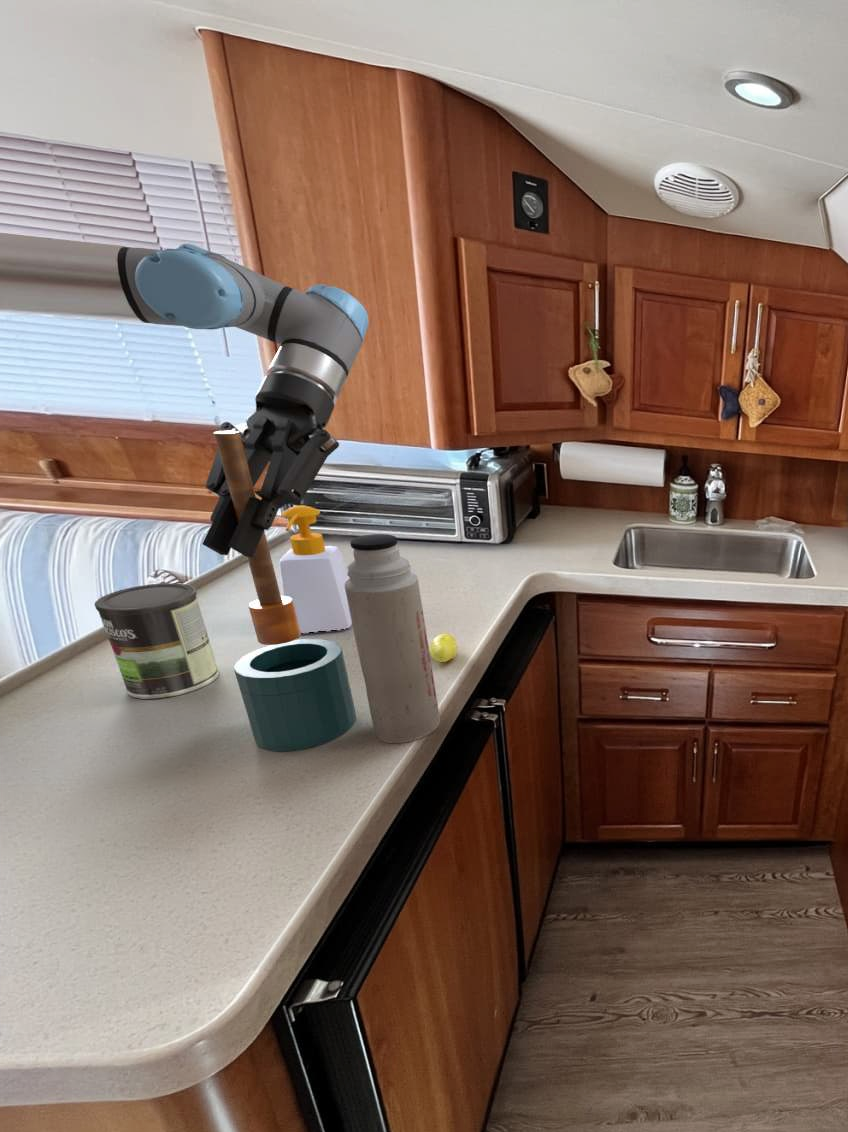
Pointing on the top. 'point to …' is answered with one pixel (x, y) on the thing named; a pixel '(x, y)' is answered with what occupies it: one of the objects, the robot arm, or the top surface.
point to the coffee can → (158, 639)
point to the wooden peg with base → (257, 552)
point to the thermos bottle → (391, 640)
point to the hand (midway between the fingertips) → (227, 550)
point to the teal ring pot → (296, 694)
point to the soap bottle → (314, 576)
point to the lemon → (443, 647)
